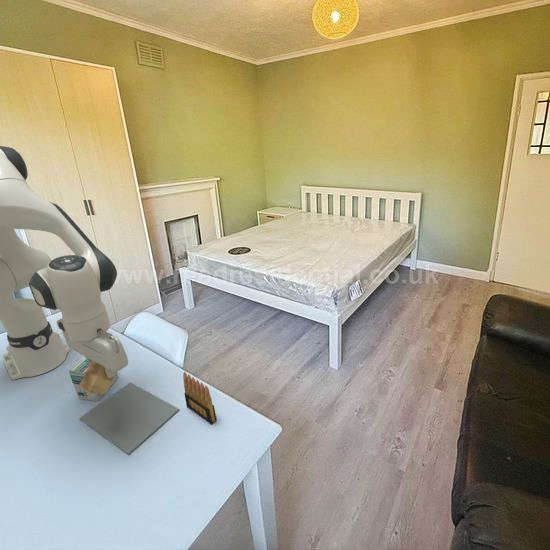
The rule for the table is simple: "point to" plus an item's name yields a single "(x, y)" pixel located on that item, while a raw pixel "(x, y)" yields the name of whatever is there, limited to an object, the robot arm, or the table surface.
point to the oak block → (96, 379)
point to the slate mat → (129, 417)
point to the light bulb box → (77, 376)
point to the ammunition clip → (199, 399)
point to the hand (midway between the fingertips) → (103, 372)
